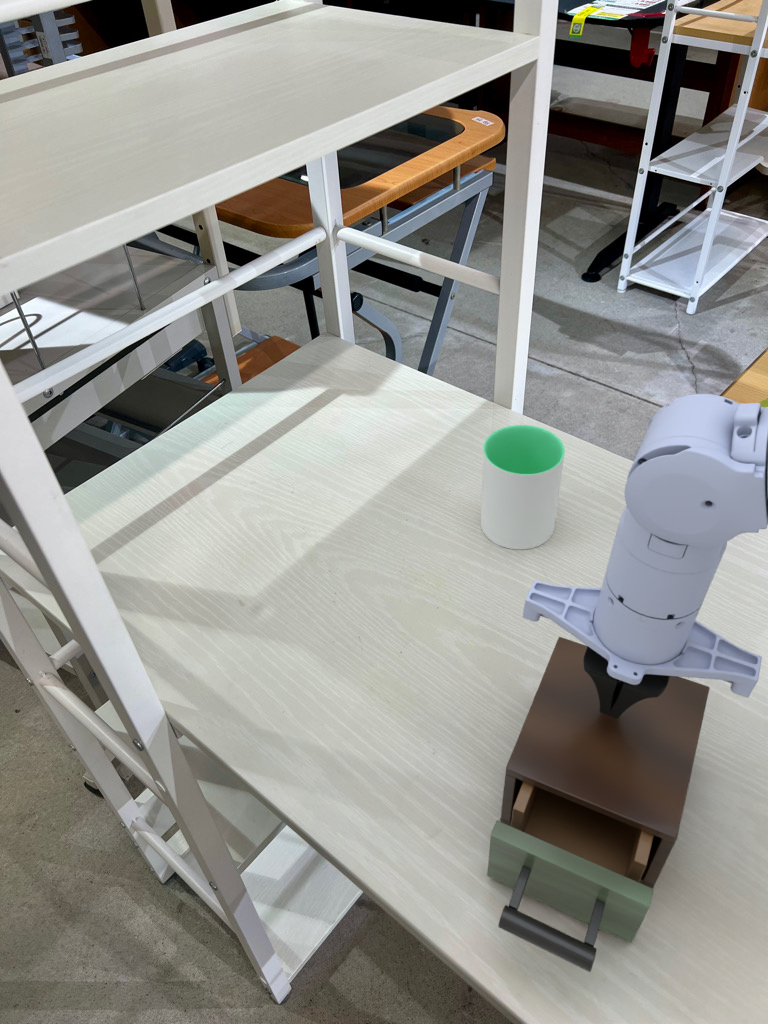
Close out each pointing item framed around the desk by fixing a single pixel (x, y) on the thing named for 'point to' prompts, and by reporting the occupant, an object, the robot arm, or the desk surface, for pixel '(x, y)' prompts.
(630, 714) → the cabinet
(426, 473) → the desk surface
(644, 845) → the drawer
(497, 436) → the mug
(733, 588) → the desk surface
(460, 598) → the desk surface
